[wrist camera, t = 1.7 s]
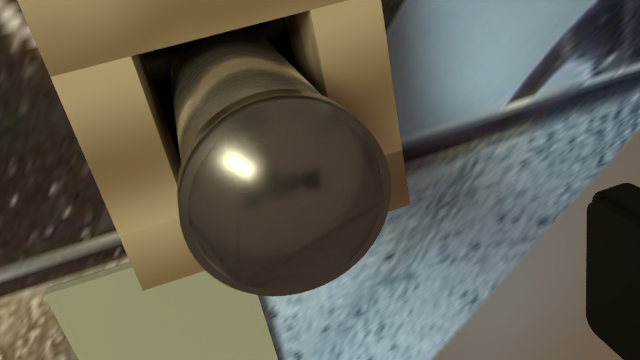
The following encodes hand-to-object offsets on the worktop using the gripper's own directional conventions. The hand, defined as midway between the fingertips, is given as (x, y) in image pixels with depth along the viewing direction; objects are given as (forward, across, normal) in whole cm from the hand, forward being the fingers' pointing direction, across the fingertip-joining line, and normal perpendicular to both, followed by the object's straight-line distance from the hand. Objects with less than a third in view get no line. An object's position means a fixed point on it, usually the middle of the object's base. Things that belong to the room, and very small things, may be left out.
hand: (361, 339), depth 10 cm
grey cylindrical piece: (+16, 0, -1) cm, 16 cm away
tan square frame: (+16, 0, -1) cm, 16 cm away
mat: (+17, +6, +10) cm, 21 cm away
